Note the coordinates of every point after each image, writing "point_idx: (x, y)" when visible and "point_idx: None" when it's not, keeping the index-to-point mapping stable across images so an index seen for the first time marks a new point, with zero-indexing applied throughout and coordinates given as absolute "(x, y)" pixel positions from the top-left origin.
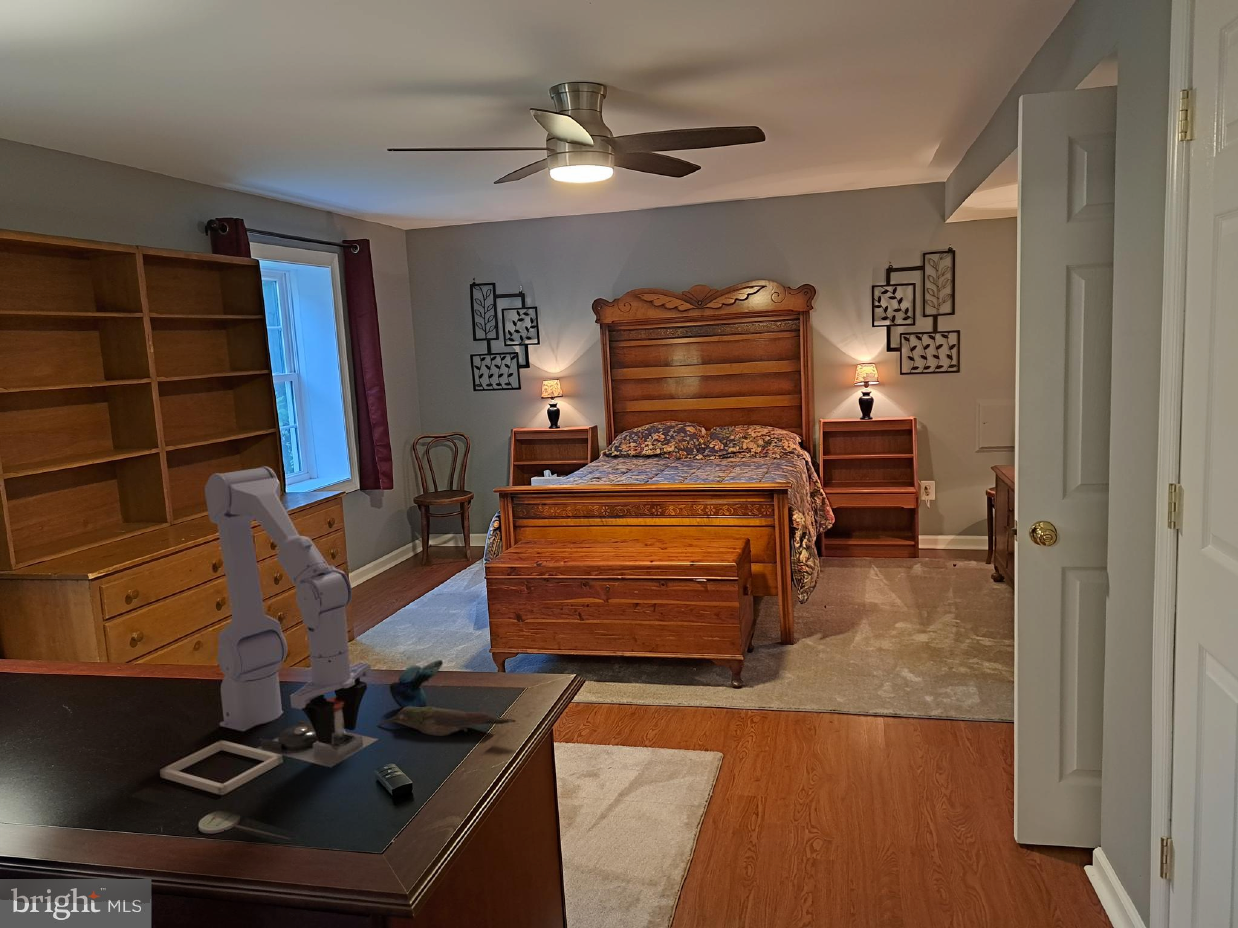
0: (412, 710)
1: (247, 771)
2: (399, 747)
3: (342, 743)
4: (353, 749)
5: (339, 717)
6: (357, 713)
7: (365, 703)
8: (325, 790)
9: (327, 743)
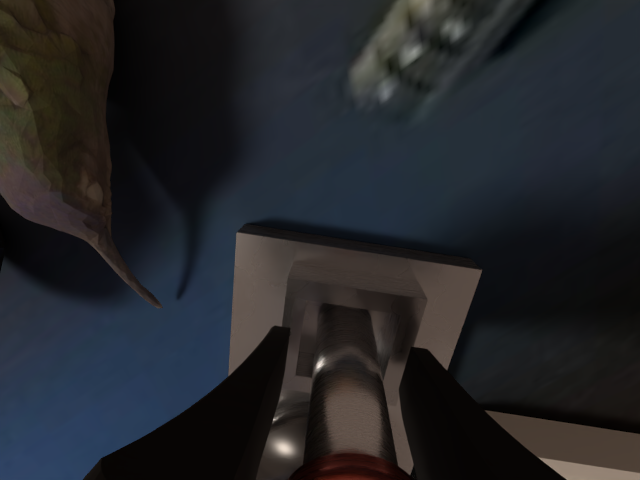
0: (28, 132)
1: (591, 474)
2: (226, 140)
3: (355, 316)
4: (342, 269)
5: (369, 408)
6: (249, 360)
7: (27, 424)
8: (583, 210)
9: (429, 351)
